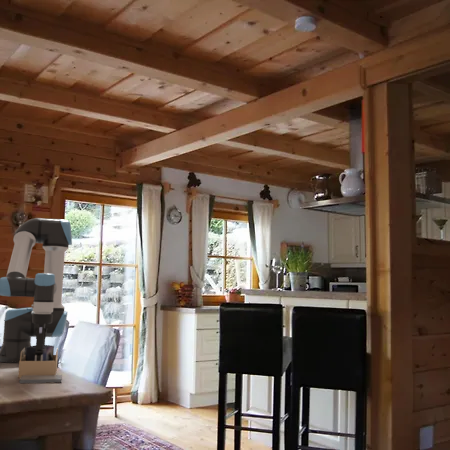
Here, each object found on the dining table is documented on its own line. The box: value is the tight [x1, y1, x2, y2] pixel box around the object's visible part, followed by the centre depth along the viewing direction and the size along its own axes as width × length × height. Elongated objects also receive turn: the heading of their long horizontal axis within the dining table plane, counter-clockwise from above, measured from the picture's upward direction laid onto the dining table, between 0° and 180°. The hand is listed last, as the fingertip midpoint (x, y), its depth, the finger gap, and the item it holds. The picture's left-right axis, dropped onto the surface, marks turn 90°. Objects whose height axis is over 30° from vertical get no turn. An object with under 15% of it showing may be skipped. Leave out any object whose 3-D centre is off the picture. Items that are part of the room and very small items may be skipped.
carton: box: [17, 347, 59, 379], centre depth 212 cm, size 19×13×9 cm
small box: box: [25, 344, 55, 361], centre depth 212 cm, size 11×6×10 cm, turn 169°
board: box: [19, 374, 63, 384], centre depth 197 cm, size 10×14×1 cm
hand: (38, 370), depth 212 cm, fingers closed on small box, 12 cm apart
